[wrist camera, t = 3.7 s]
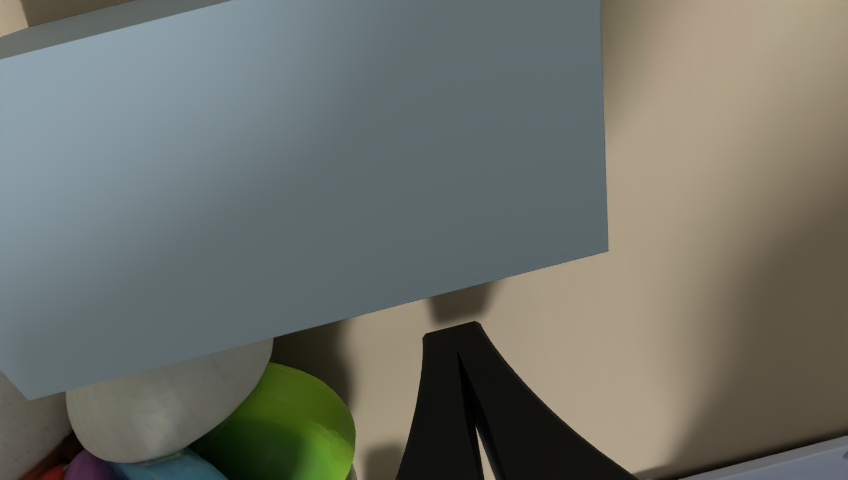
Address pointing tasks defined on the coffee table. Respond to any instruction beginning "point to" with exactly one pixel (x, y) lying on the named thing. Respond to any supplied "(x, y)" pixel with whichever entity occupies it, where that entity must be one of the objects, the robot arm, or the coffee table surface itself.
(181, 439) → the rainbow fan toy
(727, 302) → the coffee table surface
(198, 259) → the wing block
